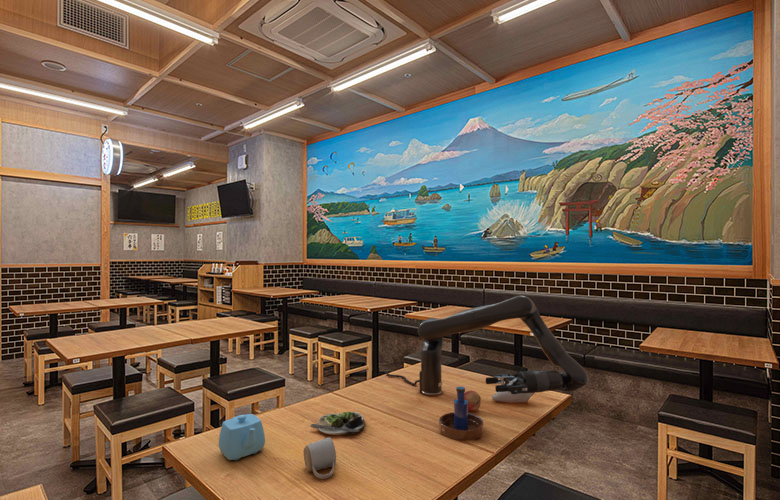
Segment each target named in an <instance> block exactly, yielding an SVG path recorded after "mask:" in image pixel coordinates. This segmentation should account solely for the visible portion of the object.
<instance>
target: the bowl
mask: <svg viewBox="0 0 780 500" xmlns="http://www.w3.org/2000/svg"><path fill="white" fill-rule="evenodd" d="M438 421H439V422H438V431H439V432H440V434H441V435H443V436H444V437H446V438H449V439H451V440H455V441H464V442H465V441H473V440H478V439H479V438H481V437H483V435H484V434H485V429H484V428H485V427H484V420H483V419H482V418H481V417H480V416H478V415H475V414H473V413H471V412H468V430H457V429H454V411H453V412H448V413H444V414H442V415H441V416H440V417H439V420H438Z"/></svg>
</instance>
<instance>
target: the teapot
mask: <svg viewBox="0 0 780 500" xmlns="http://www.w3.org/2000/svg"><path fill="white" fill-rule="evenodd" d="M265 435H266V434H265V430H264V426H263V422H262V420H261V419H260V418H259V417H258V416H257V415H255V414H253V413H247V414H240V415H236V416H233V417H232V418H229V419H227V420H224V421H222V424H221V427H220V431H219V437H218V447H219V450H220V452H221V454H222V455H223V456H224V457H225V458H226V459H227V460H229V461H238V460H240V459H241V458H244V457H248V456H250V455H255V454H257V453H258V452H260V451H261V450H263V449H264V447H265V444H266V436H265Z"/></svg>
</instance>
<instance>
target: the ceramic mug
mask: <svg viewBox="0 0 780 500" xmlns="http://www.w3.org/2000/svg"><path fill="white" fill-rule="evenodd" d="M303 461H304V466H305V468H306V470H307V471H308V472H313V474H314V476H315V477H316V478H317V479H320V480H326V479H329V478H330V477H332V475H333V474H334V471H335V466H336V464H337V452H336V447H335V444H334V441H333V439H332V438H331V436H329V437H326V438H322V439H320V440H316V441H315V442H311V443H309V444H307V445H305V446H304V447H303ZM331 467H332V468H331ZM329 468H331V469H330V471H329V472H328V473H326V474H321V473H318V471H319V470H324V469H329Z"/></svg>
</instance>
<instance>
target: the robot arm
mask: <svg viewBox="0 0 780 500" xmlns="http://www.w3.org/2000/svg"><path fill="white" fill-rule="evenodd" d="M514 319H520V320H521V321H522V322H523V323H524V324H525V325H526V326H527V327H528V329H529V330H530V331H531V333H532V334H533V336H534V338H535V339H536V342H537V343H538V345H539V347H540V349H541V351H542V352H543V353H544V355H545V356H546V357H547V359H548V360H549V362H550V363H551V364H552V366H553V367H555V368H561V369H562V370H563V372H559V371H558V370H554V369H550V370H524V371H523V370H522V371H519V372H517V374H516V376H514V375H511V374H510V373H499V374H498V373H495V374H494V376H491V377H490V376H489V377H485V384H486V385H495V384H496V385H495V387H494V388H495V389H494V390H495V392H496V393H498V392H506V391H507V392H508V393H509V392H511V394H520V393H524V394H525V393H534V394H536V393H545V392H553V391H562V392H574V391H577V390H579V389H581V388H582V387H584V386H586V385H588V383H589V375H588V373H587V371H586V370H585V368H584V367H583V366H582V365H581V364H580V363H579V362H577V360H576V359H574V358H573V357H572V356H571V355H570V354H569V353H568V352H567V350H566V349H565V348H564V346H563V345H562V344H561V343H560V341H559V339H557V337H556V336H555V335H554V334H553V332H552V331H551V330H550V328H549V327H548V325H547V324H546V323H545V321H544V320H543V318H542V316H541V315H540V312H539V310H538V308H537V307H536V303H535V302H534V301H533V300H532V299H531V298H530V297H528V296H526V295H516V296H513V297H511V298H508V299H505V300H503V301H500V302H496V303H492V304H486V305H481V306H476V307H472V308H468V309H465V310H464V309H463V310H461V311H459V312H456V313H453V314H451V315H449V316H446V317H443V318H438V319H437V318H434V317H432V318H431V317H430V318H427V319H425V320H423V321H421V323H420V324H419V325H418V328H417V335H418V336H419V338H420V339H422V341H423V342H422V346H421V348H420V371H419V379H418V380H417V379H416V380H415V381H414V382H411V381H410V380H409V379H407V378H406V377H405V376H403V375H400V374H391V373H389V372H388V371H387V370H383V371H382V372H381V373H382V374H384V373H385V374H386V375H387V376H389V377H393V378H401V379H403V380H404V381H405V382H406V383H407V384H409V385H411V386H417V384H419V393H420V394H423V395H425V396H429V397H430V396H431V397H434V396H440V395H442V393H443V387H442V386H443V381H442V349H443V344H444V342H443V340H444V339H443V338H444V336H448V335H455V334H462V333H468V332H474V331H479V330H481V329H484V328H487V327H490V326H492V325H494V324H497V323H499V322H503V321H508V320H514Z"/></svg>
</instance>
